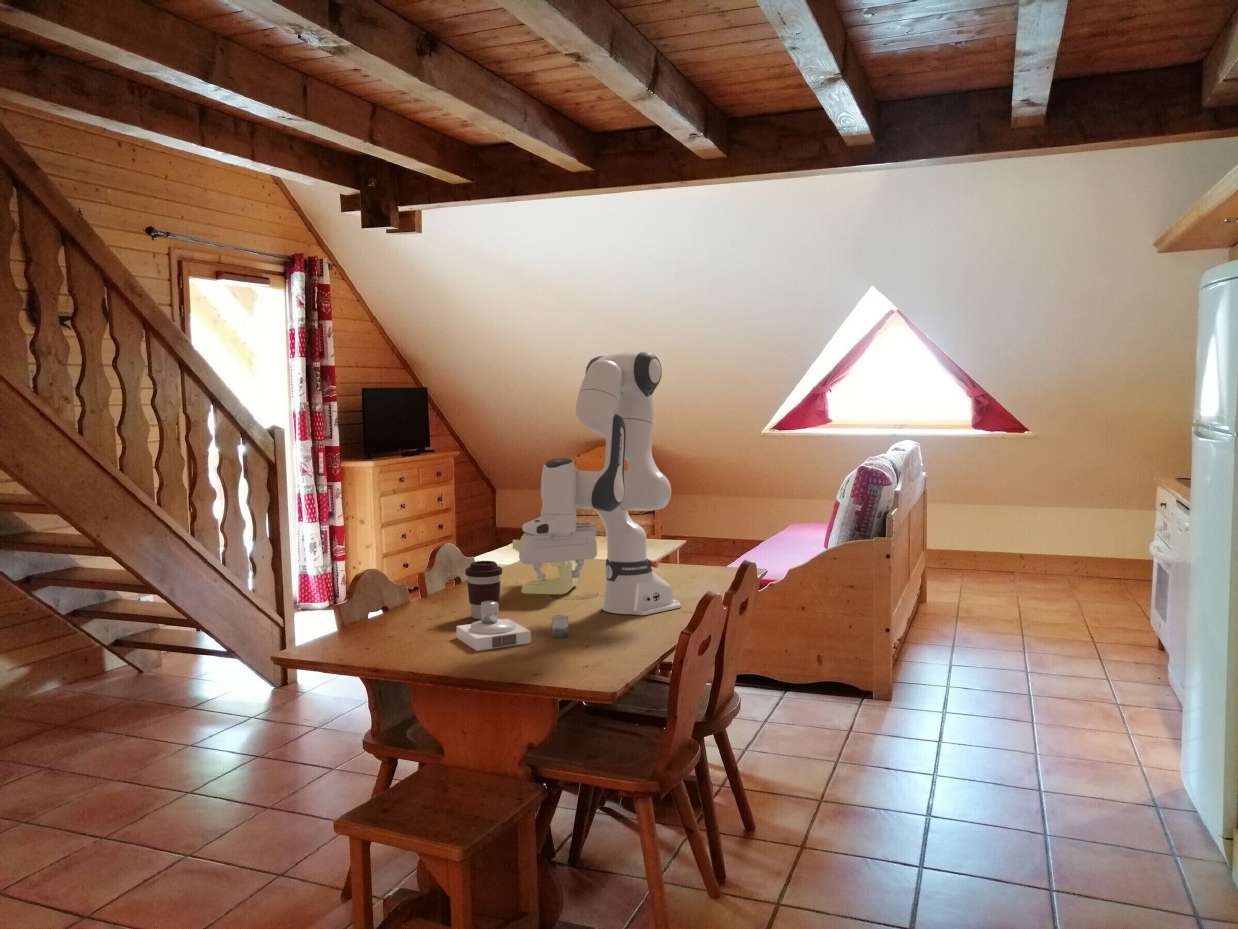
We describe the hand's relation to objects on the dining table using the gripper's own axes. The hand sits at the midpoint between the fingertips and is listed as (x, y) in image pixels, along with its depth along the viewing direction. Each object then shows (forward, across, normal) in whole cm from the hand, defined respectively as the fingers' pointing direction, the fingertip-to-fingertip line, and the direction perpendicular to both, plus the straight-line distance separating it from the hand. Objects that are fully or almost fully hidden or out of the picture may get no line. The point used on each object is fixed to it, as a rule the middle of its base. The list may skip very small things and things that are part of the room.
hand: (558, 579), depth 236 cm
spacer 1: (+11, +16, -8) cm, 20 cm away
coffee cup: (+15, +8, -29) cm, 34 cm away
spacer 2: (+15, 0, 0) cm, 15 cm away
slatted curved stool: (+14, -22, -52) cm, 59 cm away
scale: (+15, +16, -5) cm, 22 cm away
